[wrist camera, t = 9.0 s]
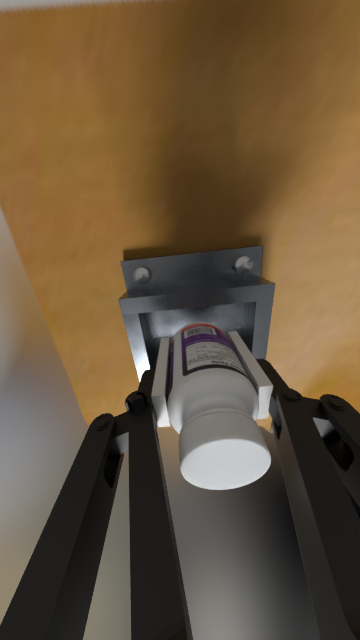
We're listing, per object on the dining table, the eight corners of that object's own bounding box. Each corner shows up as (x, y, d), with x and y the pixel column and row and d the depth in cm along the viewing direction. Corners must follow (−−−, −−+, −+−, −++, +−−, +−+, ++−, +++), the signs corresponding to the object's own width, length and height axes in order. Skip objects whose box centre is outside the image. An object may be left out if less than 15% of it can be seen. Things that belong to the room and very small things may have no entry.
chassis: (123, 260, 18) (109, 264, 14) (258, 245, 17) (279, 246, 14) (149, 378, 24) (144, 401, 21) (248, 369, 24) (261, 392, 20)
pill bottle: (202, 376, 18) (228, 508, 9) (159, 350, 16) (138, 476, 8) (239, 340, 16) (315, 458, 7) (194, 308, 15) (221, 406, 6)
